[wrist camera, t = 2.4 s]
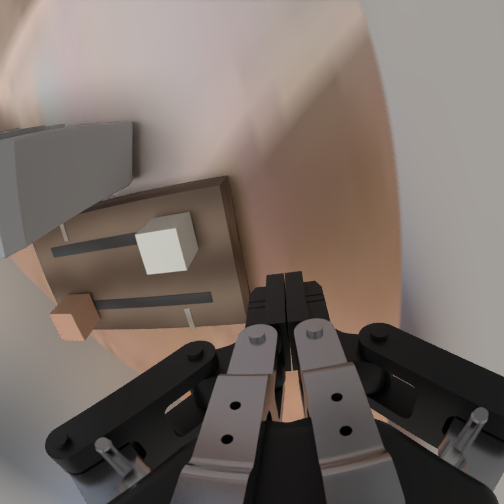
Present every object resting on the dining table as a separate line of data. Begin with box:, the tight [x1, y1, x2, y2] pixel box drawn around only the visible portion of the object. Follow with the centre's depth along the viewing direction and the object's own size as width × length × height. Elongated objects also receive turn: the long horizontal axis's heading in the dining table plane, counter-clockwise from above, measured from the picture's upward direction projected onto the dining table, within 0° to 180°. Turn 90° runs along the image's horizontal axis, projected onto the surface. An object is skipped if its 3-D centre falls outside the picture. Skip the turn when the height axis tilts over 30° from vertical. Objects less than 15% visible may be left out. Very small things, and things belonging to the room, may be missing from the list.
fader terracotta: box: [50, 293, 100, 341], centre depth 25 cm, size 3×3×4 cm
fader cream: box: [135, 212, 198, 275], centre depth 21 cm, size 3×3×4 cm
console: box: [33, 176, 250, 329], centre depth 27 cm, size 12×20×4 cm, turn 99°
